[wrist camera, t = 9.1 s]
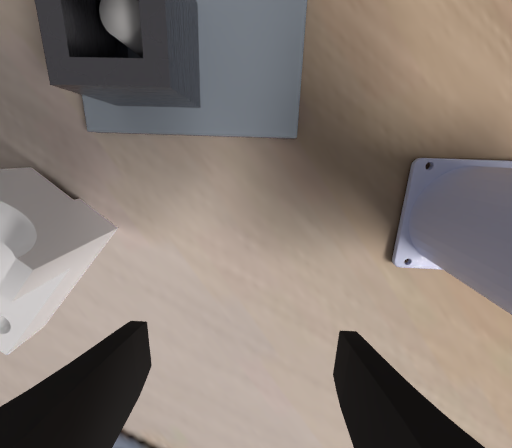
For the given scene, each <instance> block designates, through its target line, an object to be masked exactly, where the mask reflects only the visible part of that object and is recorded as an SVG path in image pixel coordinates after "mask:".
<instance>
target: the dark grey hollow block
mask: <svg viewBox="0 0 512 448" xmlns="http://www.w3.org/2000/svg"><path fill="white" fill-rule="evenodd" d="M138 1H139V11H140V23H141V35H142V47H143V58H129V57H128V47H127V46H126V45H124V44H123V43H122V42H120V41H119V40H118V39H117V38H115V37H114V36H113V35H111V34H110V33H109V32H108V31H107V30H106V29H105V27H104V25H103V24H102V21H101V18H100V13H99V6H100V2H101V0H35V4H36V9H37V15H38V20H39V25H40V31H41V36H42V42H43V47H44V53H45V58H46V64H47V69H48V75H49V80H50V85H53V86H56V87H59V88H63V89H66V90H69V91H72V92H75V93H78V94H81V95H85V96H88V97H91V98H94V99H97V100H100V101H103V102H107V103H110V104H113V105H116V106H144V107H183V108H201V105H200V71H199V37H198V4H197V2H196V0H138Z"/></svg>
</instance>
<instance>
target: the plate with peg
mask: <svg viewBox="0 0 512 448" xmlns="http://www.w3.org/2000/svg"><path fill="white" fill-rule="evenodd" d="M196 2H197V4H198V37H199V71H200V105H201V108H183V107H144V106H116V105H113V104H110V103H107V102H103V101H100V100H97V99H94V98H91V97H88V96H85V95H82V99H83V105H84V112H85V118H86V125H87V131H89V132H97V133H128V134H161V135H193V136H226V137H258V138H291V139H295V138H297V129H298V115H299V102H300V88H301V75H302V62H303V48H304V35H305V21H306V8H307V0H196ZM99 13H100V18H101V21H102V24H103V25H104V27H105V29H106V30H107V31H108V32H109V33H110V34H111V35H113V36H114V37H115V38H117V39H118V40H119V41H120V42H122V43H123V44H124V45H126V46H127V47H128V57H129V58H143V47H142V35H141V23H140V11H139V1H138V0H101V2H100V6H99Z"/></svg>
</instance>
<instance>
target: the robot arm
mask: <svg viewBox="0 0 512 448" xmlns="http://www.w3.org/2000/svg"><path fill="white" fill-rule="evenodd" d="M428 162H429V163H430V167H429V168H428V169H426V167H425V166H426V164H427V163H428ZM406 259H409V260H408V262H406V263H404V261H405V260H406ZM392 262H393V264H394V265H395V266H397V267H404V268H424V269H443V270H445V271H446V272H448V273H449V274H451V275H452V276H454V277H455V278H457V279H458V280H460V281H461V282H463V283H464V284H466V285H467V286H469V287H471V288H472V289H474V290H475V291H477V292H478V293H480V294H481V295H483V296H484V297H486V298H487V299H489V300H490V301H492V302H493V303H495V304H496V305H498V306H499V307H501V308H502V309H504V310H505V311H507V312H508V313H510V314H511V315H512V161H500V160H470V159H440V158H417V159H415V160H414V161H413V162H412V165H411V169H410V174H409V179H408V184H407V189H406V194H405V199H404V203H403V208H402V213H401V218H400V223H399V228H398V233H397V238H396V242H395V247H394V252H393V257H392ZM150 368H151V356H150V347H149V338H148V329H147V322H142V321H130V322H128V323H127V324H125V325H124V326H122V327H121V328H119V329H118V330H116V331H115V332H114V333H112V334H111V335H109V336H108V337H106V338H105V339H104V340H102V341H101V342H99V343H98V344H97V345H95V346H94V347H92V348H91V349H89V350H88V351H86V352H85V353H84V354H82V355H81V356H79V357H78V358H76V359H75V360H73V361H72V362H71V363H69V364H68V365H66V366H64V367H63V368H61V369H60V370H58V371H57V372H55V373H54V374H52V375H51V376H49V377H48V378H46V379H44V380H43V381H41V382H40V383H38V384H37V385H35V386H34V387H32V388H31V389H29V390H27V391H26V392H24V393H23V394H21V395H19V396H18V397H16V398H14V399H13V400H11V401H9V402H8V403H6V404H4V405H3V406H1V407H0V448H112V447H113V445H114V443H115V441H116V439H117V438H118V436H119V434H120V432H121V430H122V428H123V426H124V424H125V423H126V421H127V419H128V417H129V415H130V413H131V411H132V409H133V407H134V405H135V403H136V402H137V400H138V398H139V396H140V393H141V391H142V388H143V386H144V384H145V381H146V379H147V376H148V373H149V371H150ZM333 377H334V381H335V386H336V391H337V395H338V399H339V403H340V407H341V410H342V413H343V416H344V419H345V422H346V425H347V428H348V431H349V434H350V437H351V440H352V443H353V446H354V448H485V447H483V446H482V445H481V444H480V443H478V442H477V441H476V440H475V439H473V438H472V437H471V436H470V435H468V434H467V433H466V432H465V431H463V430H462V429H461V428H460V427H459V426H457V425H456V424H455V423H454V422H453V421H451V420H450V419H449V418H448V417H447V416H445V415H444V414H443V413H442V412H441V411H440V410H439V409H437V408H436V407H435V406H434V405H433V404H432V403H431V402H429V401H428V400H427V399H426V398H425V397H424V396H423V395H422V394H420V393H419V392H418V391H417V390H416V389H415V388H414V387H413V386H412V385H411V384H410V383H409V382H407V381H406V380H405V379H404V378H403V377H402V376H401V375H400V374H399V373H398V372H397V371H396V370H395V369H394V368H393V367H392V366H391V365H390V364H389V363H388V362H387V361H386V360H385V359H384V358H383V357H382V356H381V355H380V354H379V353H378V352H377V351H376V350H375V349H374V348H373V347H372V346H371V345H370V344H369V343H368V342H367V341H366V340H365V339H364V338H363V337H362V336H361V335H360V334H358V333H357V332H356V331H340V332H339V339H338V345H337V352H336V359H335V365H334V372H333Z"/></svg>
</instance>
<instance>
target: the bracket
mask: <svg viewBox="0 0 512 448" xmlns="http://www.w3.org/2000/svg"><path fill="white" fill-rule="evenodd" d="M117 229H118V227H116V226H115V225H114V224H113V223H111V222H110V221H109V220H107V219H106V218H105V217H104V216H102V215H101V214H100V213H98V212H97V211H96V210H95V209H93V208H92V207H91V206H89V205H88V204H87V203H86V202H84V201H83V200H82V199H81V198H79V199H75V200H73V199H72V198H71V197H69V196H68V195H67V194H65V193H64V192H63V191H62V190H60V189H59V188H58V187H56V186H55V185H54V184H53V183H51V182H50V181H49V180H47V179H46V178H45V177H43V176H42V175H41V174H40V173H38V172H37V171H36V170H34V169H33V168H32V167H27V168H9V169H0V351H1V352H3V353H4V354H6V355H8V354H10V353H11V352H12V351H14V350H15V349H16V348H17V347H19V346H20V345H21V344H23V343H24V342H25V341H26V340H28V339H29V338H30V337H32V336H33V335H34V334H36V333H37V332H38V331H39V330H41V329H42V328H43V327H44V326H45V325H46V323H47V322H48V321H49V319H50V318H51V317H52V315H53V314H54V313H55V311H56V310H57V309H58V307H59V306H60V305H61V303H62V302H63V301H64V299H65V298H66V297H67V295H68V294H69V293H70V291H71V290H72V289H73V287H74V286H75V285H76V283H77V282H78V281H79V279H80V278H81V277H82V275H83V274H84V273H85V271H86V270H87V269H88V267H89V266H90V265H91V263H92V262H93V261H94V259H95V258H96V257H97V255H98V254H99V253H100V251H101V250H102V249H103V248H104V246H105V245H106V244H107V242H108V241H109V240H110V238H111V237H112V236H113V234H114V233H115V232H116V230H117Z"/></svg>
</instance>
